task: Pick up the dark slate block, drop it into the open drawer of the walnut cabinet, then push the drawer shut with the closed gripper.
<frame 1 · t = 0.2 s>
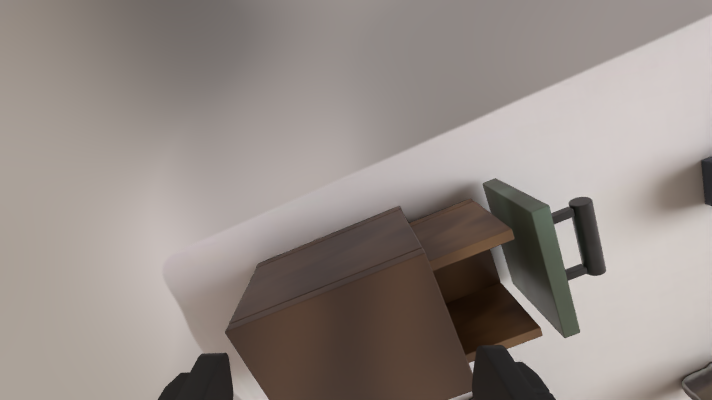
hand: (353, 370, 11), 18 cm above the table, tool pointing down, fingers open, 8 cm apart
drawer: (483, 269, 26), point 5 cm above the table, slide at 7.0 cm
cabinet: (352, 287, 31), on the table
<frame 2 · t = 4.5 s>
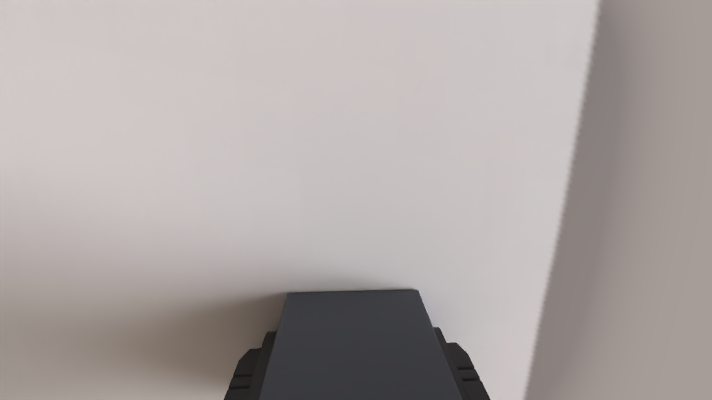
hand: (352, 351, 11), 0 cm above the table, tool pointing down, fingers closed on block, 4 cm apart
block: (353, 344, 12), on the table, touching gripper
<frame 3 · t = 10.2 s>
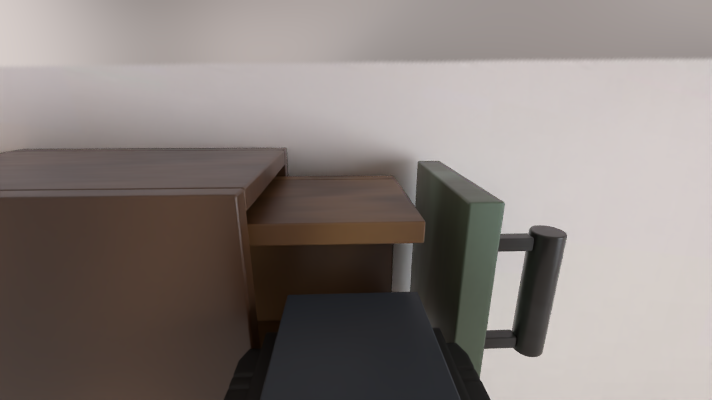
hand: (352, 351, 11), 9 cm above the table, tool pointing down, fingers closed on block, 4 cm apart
drawer: (366, 285, 15), point 5 cm above the table, slide at 7.0 cm
cabinet: (175, 247, 19), on the table
block: (353, 346, 12), point 8 cm above the table, touching gripper
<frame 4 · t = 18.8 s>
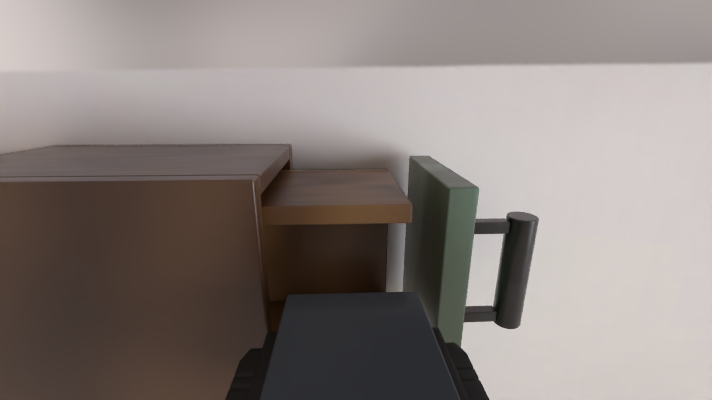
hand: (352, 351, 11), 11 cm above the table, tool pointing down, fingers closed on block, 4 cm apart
drawer: (363, 265, 17), point 5 cm above the table, slide at 7.0 cm
cabinet: (189, 235, 21), on the table
block: (352, 346, 12), point 10 cm above the table, touching gripper
when the fingers open (12 cm above the table, at t = 27.1 s): block drops 10 cm, resting on drawer.
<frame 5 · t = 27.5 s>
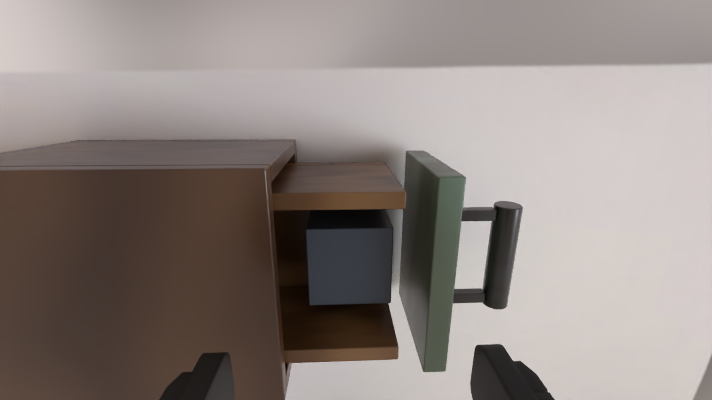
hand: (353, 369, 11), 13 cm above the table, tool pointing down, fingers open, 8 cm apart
drawer: (362, 251, 19), point 5 cm above the table, slide at 7.0 cm, touching block
cabinet: (201, 224, 23), on the table
block: (347, 234, 21), point 2 cm above the table, touching drawer
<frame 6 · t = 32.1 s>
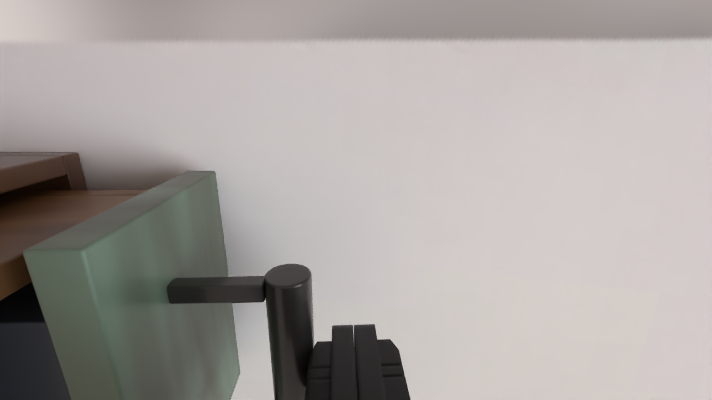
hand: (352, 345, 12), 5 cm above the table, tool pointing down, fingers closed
drawer: (73, 340, 11), point 5 cm above the table, slide at 4.7 cm, touching block, gripper
block: (102, 298, 14), point 2 cm above the table, touching drawer
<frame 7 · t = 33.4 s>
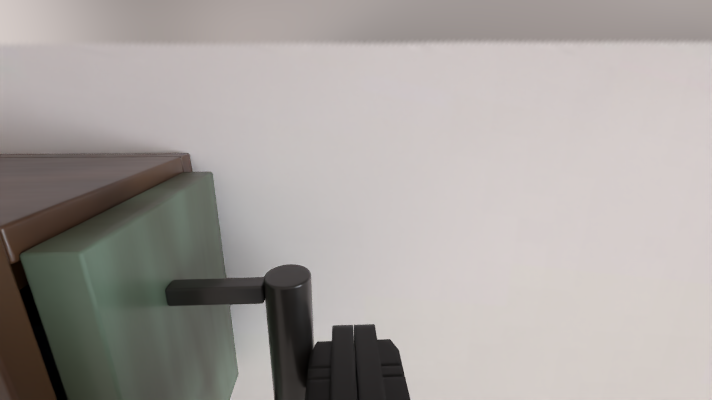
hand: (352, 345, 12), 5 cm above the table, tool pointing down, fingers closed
drawer: (69, 344, 11), point 5 cm above the table, slide at 0.0 cm, touching block, cabinet, gripper
cabinet: (58, 277, 15), on the table
block: (97, 301, 14), point 2 cm above the table, touching drawer
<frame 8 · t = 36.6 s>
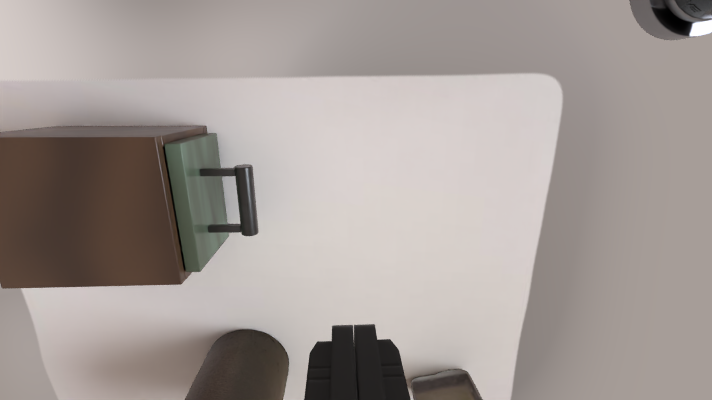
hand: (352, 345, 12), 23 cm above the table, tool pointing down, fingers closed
drawer: (160, 198, 28), point 5 cm above the table, slide at 0.0 cm, touching block
cabinet: (144, 185, 33), on the table
pillar candle: (249, 361, 40), on the table
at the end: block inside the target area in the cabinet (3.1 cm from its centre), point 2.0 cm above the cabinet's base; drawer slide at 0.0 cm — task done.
